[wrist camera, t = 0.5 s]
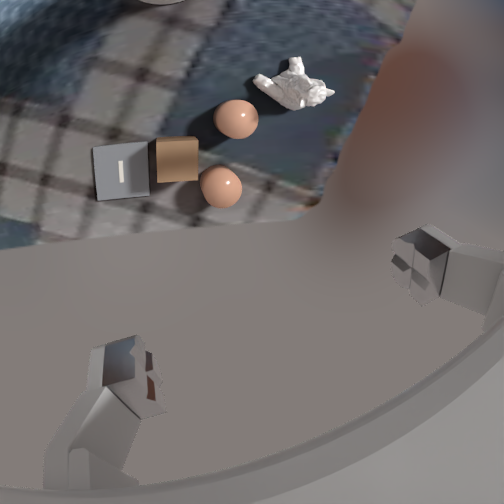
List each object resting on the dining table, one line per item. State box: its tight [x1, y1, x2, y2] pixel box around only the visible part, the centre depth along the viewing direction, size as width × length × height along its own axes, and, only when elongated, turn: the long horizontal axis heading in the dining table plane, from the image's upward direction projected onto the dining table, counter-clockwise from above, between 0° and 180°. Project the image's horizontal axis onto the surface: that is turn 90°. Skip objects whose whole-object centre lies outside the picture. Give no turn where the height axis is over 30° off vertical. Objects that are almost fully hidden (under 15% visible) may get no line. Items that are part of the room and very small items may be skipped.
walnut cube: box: [156, 136, 198, 183], centre depth 44 cm, size 6×6×6 cm
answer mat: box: [93, 141, 150, 201], centre depth 44 cm, size 9×9×1 cm
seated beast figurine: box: [253, 57, 335, 111], centre depth 40 cm, size 10×9×12 cm
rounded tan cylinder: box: [213, 100, 258, 139], centre depth 44 cm, size 6×6×5 cm
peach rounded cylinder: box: [200, 165, 242, 208], centre depth 48 cm, size 6×6×5 cm
